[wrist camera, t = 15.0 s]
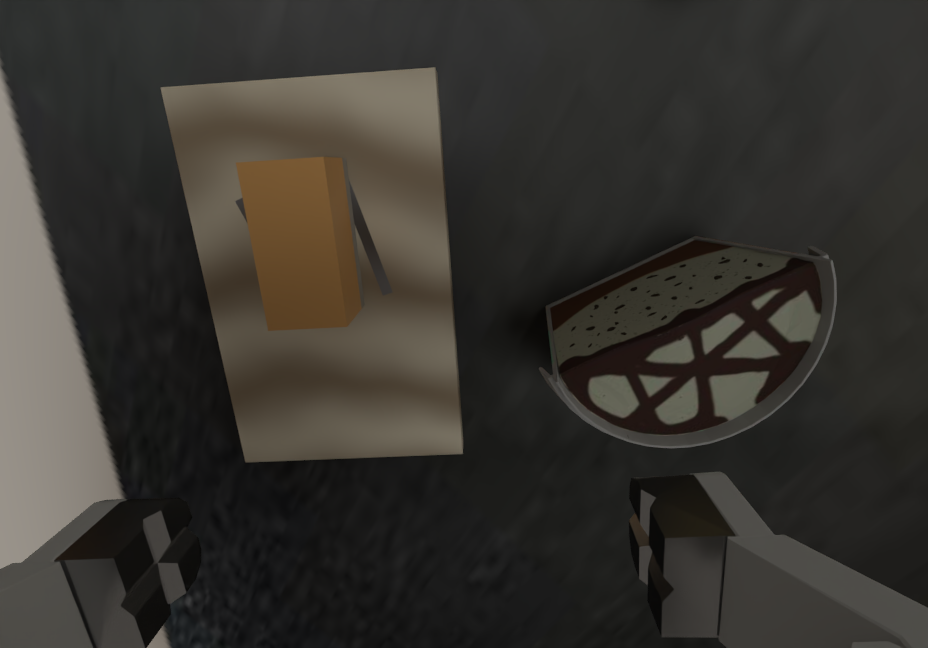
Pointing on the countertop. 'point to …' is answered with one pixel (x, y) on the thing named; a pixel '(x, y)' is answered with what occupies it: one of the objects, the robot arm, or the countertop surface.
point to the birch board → (380, 257)
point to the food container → (692, 341)
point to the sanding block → (303, 241)
